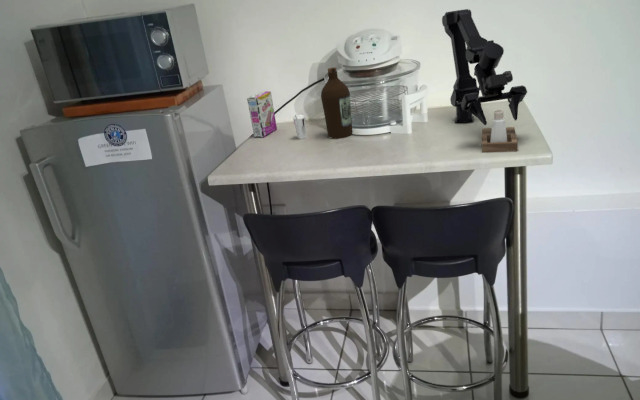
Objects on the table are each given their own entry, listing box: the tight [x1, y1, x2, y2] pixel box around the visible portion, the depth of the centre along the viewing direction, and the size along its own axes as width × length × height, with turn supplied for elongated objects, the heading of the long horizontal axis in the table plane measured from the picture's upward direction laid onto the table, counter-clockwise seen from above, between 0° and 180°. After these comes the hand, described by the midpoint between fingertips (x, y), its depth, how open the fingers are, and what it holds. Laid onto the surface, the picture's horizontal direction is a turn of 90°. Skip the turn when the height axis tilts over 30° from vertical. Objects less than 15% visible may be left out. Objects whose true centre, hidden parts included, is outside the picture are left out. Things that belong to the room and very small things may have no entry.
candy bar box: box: [246, 90, 278, 139], centre depth 199 cm, size 11×5×16 cm, turn 154°
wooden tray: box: [481, 126, 519, 153], centre depth 153 cm, size 16×10×2 cm, turn 163°
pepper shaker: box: [490, 109, 507, 143], centre depth 149 cm, size 5×5×11 cm
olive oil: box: [320, 66, 353, 139], centre depth 181 cm, size 11×11×25 cm
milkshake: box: [292, 113, 307, 140], centre depth 187 cm, size 5×5×10 cm
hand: (501, 122), depth 146 cm, fingers open, 9 cm apart
